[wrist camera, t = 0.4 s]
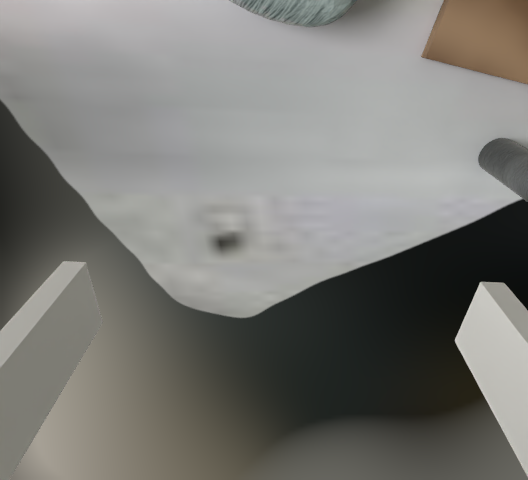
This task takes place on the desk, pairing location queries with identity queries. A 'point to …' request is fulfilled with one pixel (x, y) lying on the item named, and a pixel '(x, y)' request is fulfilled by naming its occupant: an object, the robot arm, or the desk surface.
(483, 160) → the pin
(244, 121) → the desk surface
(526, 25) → the board
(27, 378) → the robot arm
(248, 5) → the spool
